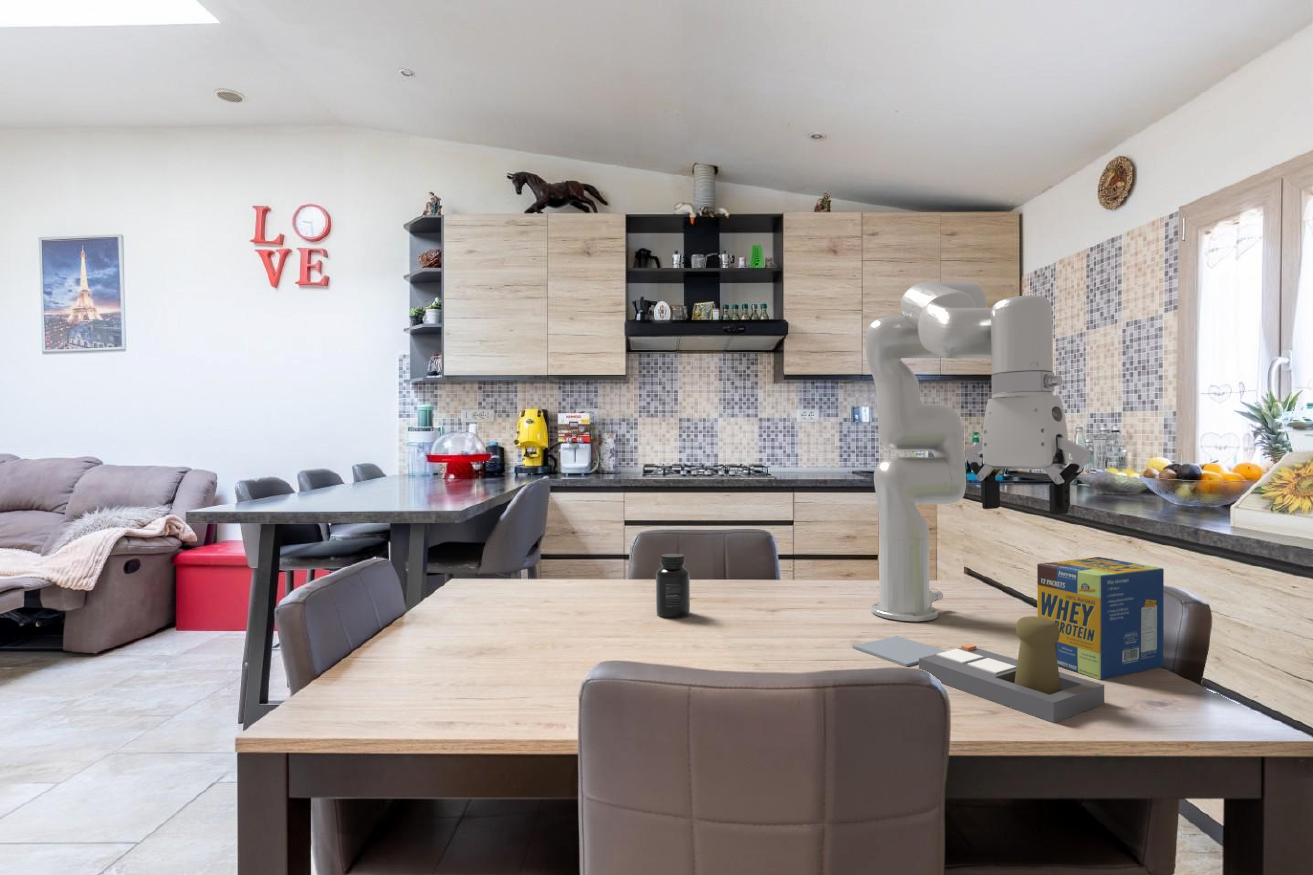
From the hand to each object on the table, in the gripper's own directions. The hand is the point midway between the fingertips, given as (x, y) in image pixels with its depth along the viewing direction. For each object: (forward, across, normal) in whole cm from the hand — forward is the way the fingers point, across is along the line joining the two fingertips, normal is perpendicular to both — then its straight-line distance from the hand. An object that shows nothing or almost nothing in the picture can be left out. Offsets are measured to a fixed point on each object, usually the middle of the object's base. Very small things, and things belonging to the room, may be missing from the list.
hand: (1023, 511), depth 94 cm
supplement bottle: (+25, +62, +19) cm, 69 cm away
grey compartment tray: (+25, +3, 0) cm, 26 cm away
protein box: (+26, +2, -24) cm, 35 cm away
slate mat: (+25, +22, -1) cm, 34 cm away
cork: (+26, -1, 0) cm, 26 cm away
